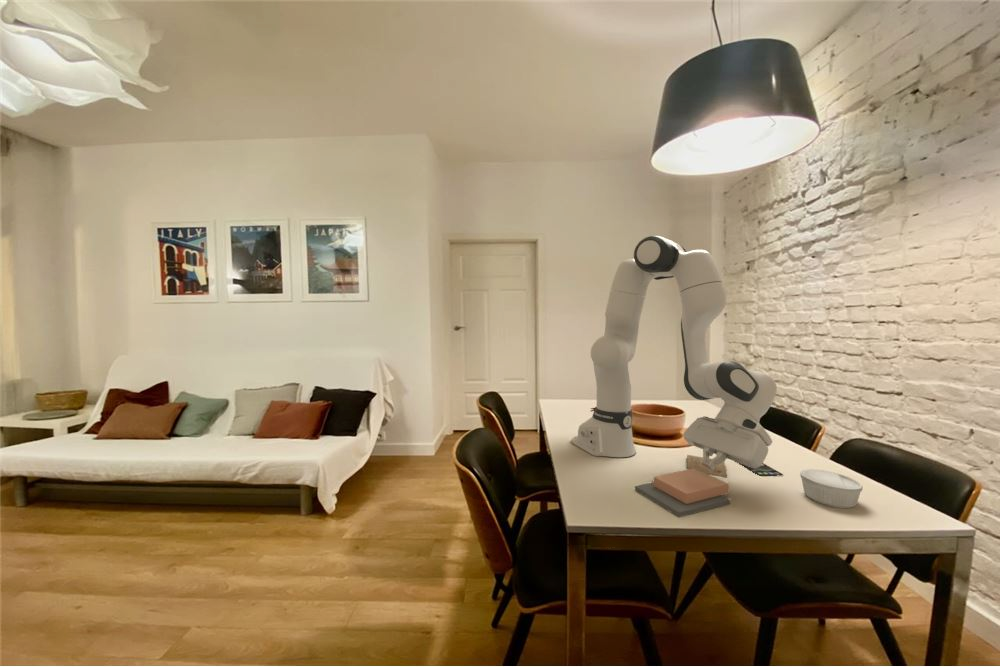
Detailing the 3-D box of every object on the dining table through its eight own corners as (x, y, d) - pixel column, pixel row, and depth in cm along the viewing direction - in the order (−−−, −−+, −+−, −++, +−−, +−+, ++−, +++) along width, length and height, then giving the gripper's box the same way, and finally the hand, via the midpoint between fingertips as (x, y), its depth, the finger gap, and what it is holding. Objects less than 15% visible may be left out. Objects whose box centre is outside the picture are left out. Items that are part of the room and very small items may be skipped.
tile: (693, 477, 100) (653, 486, 95) (693, 468, 100) (653, 476, 95) (728, 494, 91) (686, 504, 86) (728, 483, 91) (686, 493, 86)
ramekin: (875, 511, 85) (876, 489, 84) (826, 511, 85) (826, 488, 85) (832, 489, 96) (833, 469, 96) (788, 488, 96) (789, 468, 96)
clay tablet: (728, 481, 102) (728, 471, 102) (686, 474, 106) (687, 465, 106) (723, 463, 115) (723, 454, 115) (686, 457, 119) (686, 449, 119)
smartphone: (758, 475, 104) (726, 455, 119) (758, 477, 104) (726, 457, 119) (785, 475, 104) (749, 455, 119) (785, 477, 104) (749, 457, 119)
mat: (635, 489, 95) (635, 486, 95) (681, 479, 101) (681, 476, 101) (679, 516, 82) (679, 512, 82) (729, 503, 88) (730, 499, 88)
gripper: (694, 408, 107) (667, 445, 103) (768, 427, 88) (738, 474, 84) (705, 421, 108) (679, 459, 105) (779, 443, 89) (751, 490, 86)
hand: (706, 466), depth 95 cm, fingers closed
